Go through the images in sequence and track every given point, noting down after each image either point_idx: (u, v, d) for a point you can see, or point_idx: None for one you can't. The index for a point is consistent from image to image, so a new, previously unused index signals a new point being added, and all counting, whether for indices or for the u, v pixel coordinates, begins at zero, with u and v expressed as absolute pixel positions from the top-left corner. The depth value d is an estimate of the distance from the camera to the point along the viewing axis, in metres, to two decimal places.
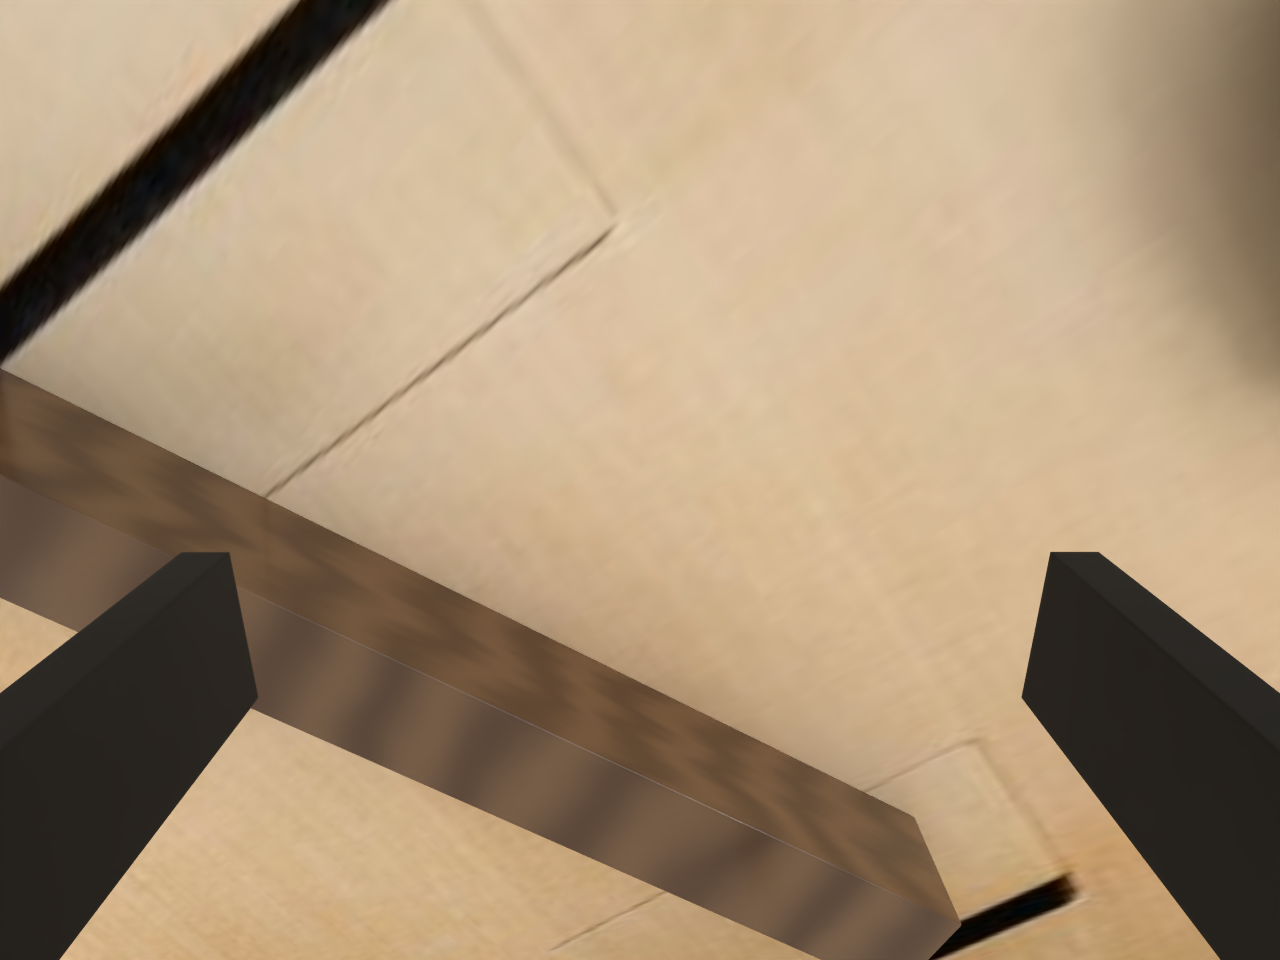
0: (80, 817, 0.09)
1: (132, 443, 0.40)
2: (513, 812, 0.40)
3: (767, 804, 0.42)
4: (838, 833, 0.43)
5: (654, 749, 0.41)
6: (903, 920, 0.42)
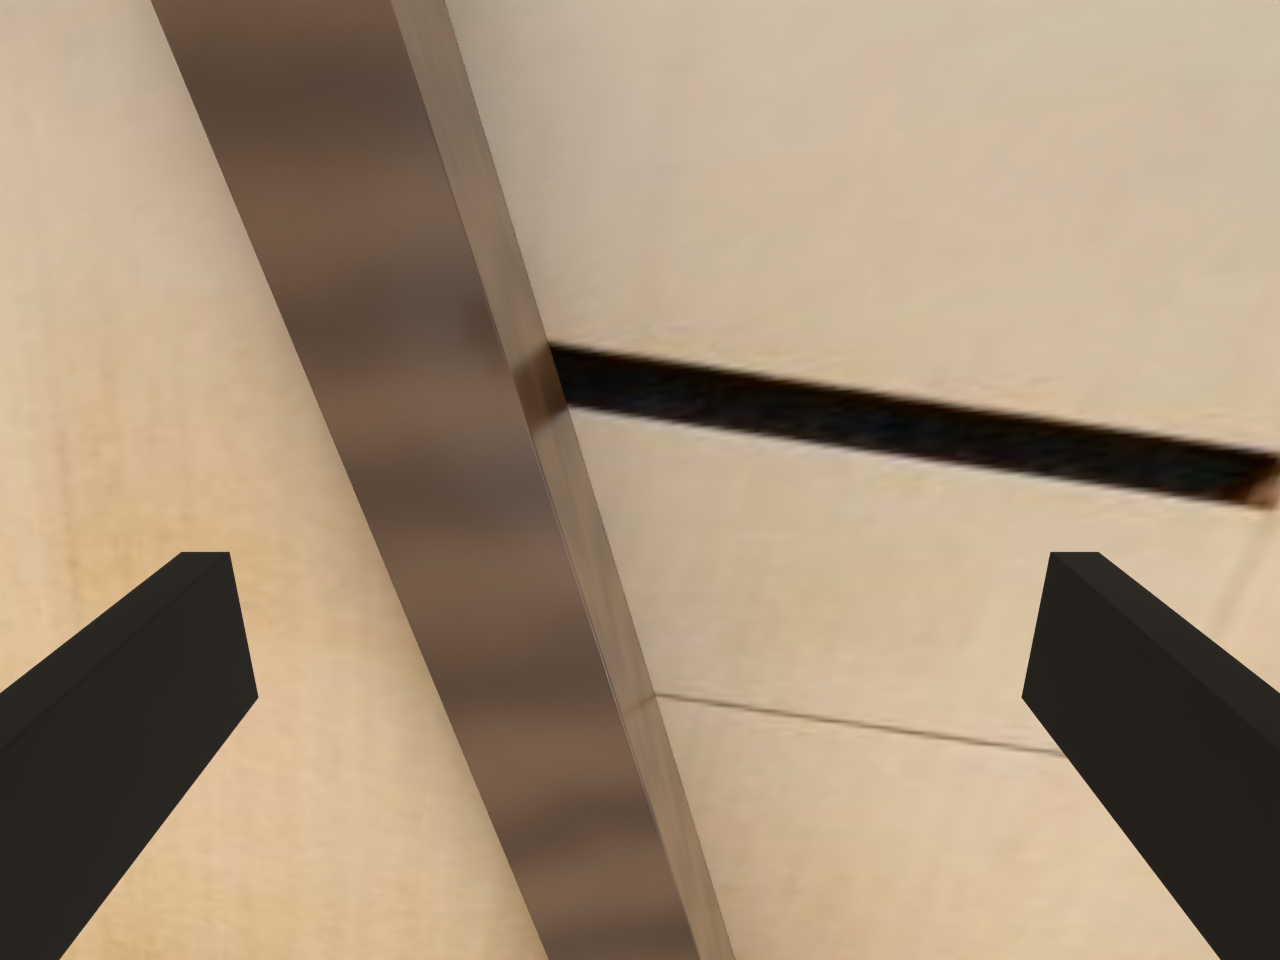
0: (80, 817, 0.09)
1: (616, 579, 0.33)
2: None
3: None
4: None
5: None
6: None
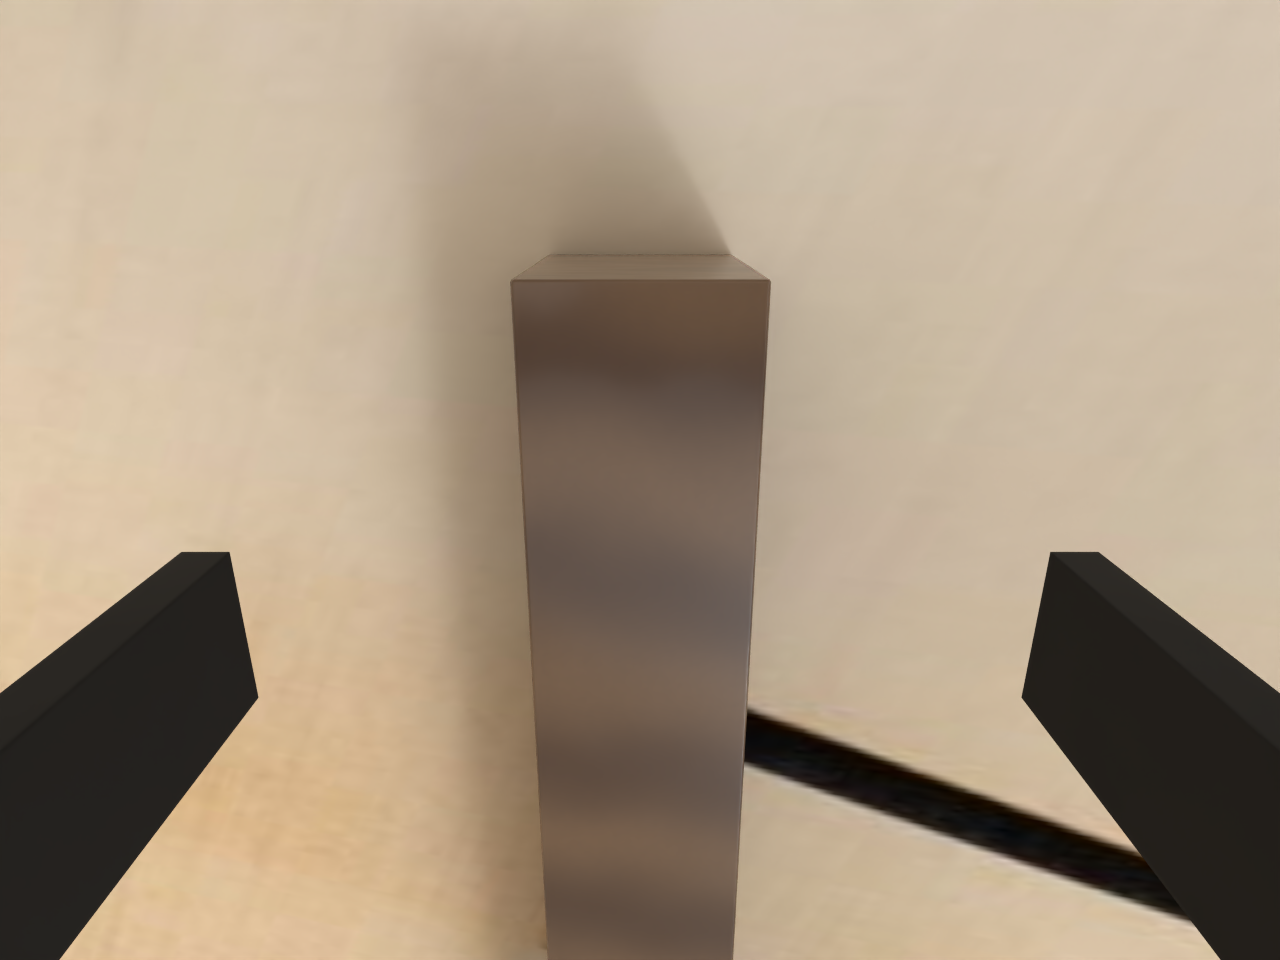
0: (79, 817, 0.09)
1: None
2: None
3: None
4: None
5: None
6: None
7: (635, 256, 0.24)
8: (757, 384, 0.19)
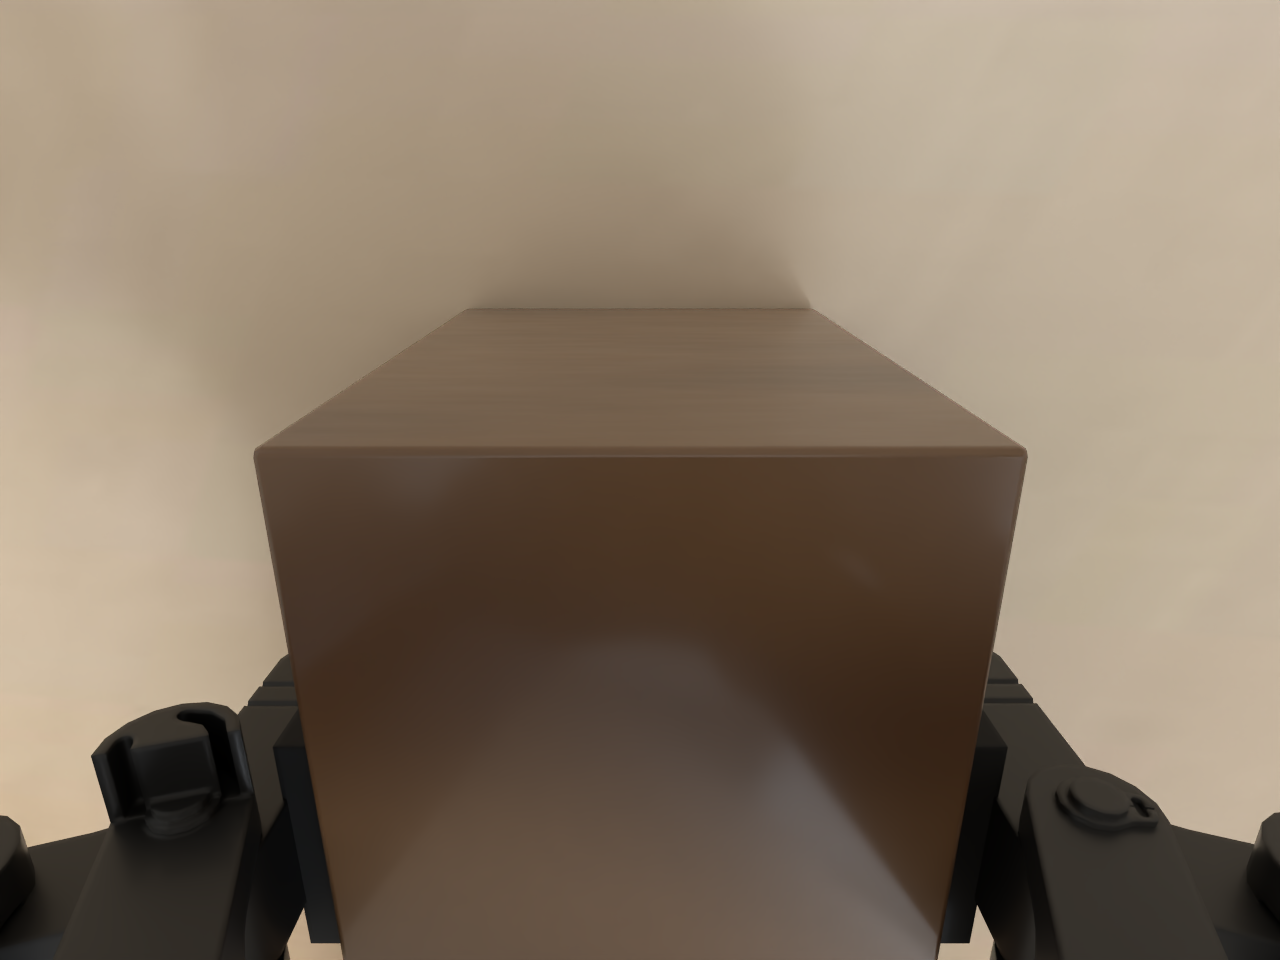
0: None
1: None
2: None
3: None
4: None
5: None
6: None
7: (630, 314, 0.13)
8: (961, 715, 0.07)
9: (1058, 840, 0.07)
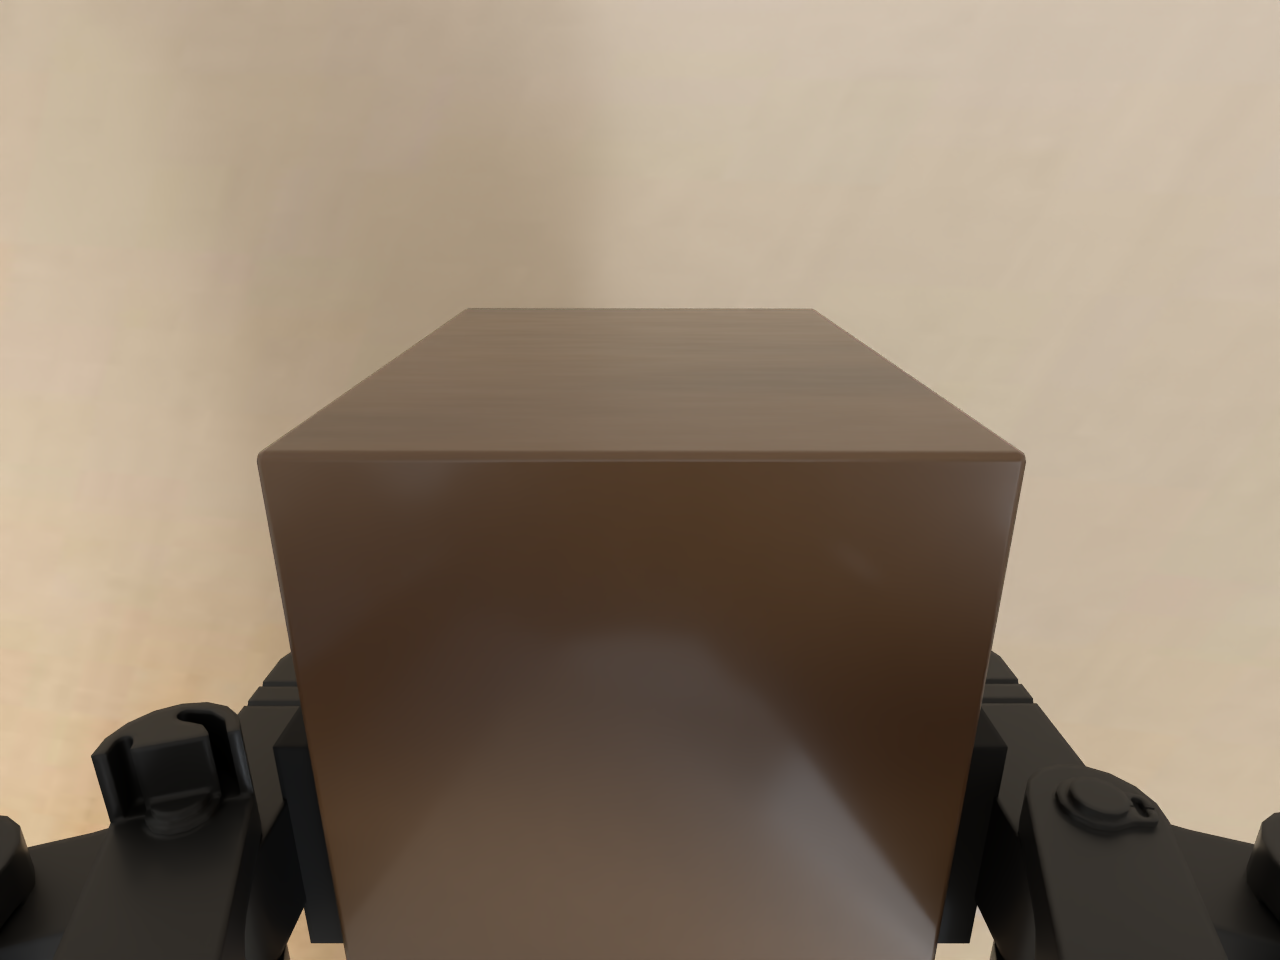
0: None
1: None
2: None
3: None
4: None
5: None
6: None
7: (630, 314, 0.13)
8: (959, 718, 0.07)
9: (1058, 839, 0.07)
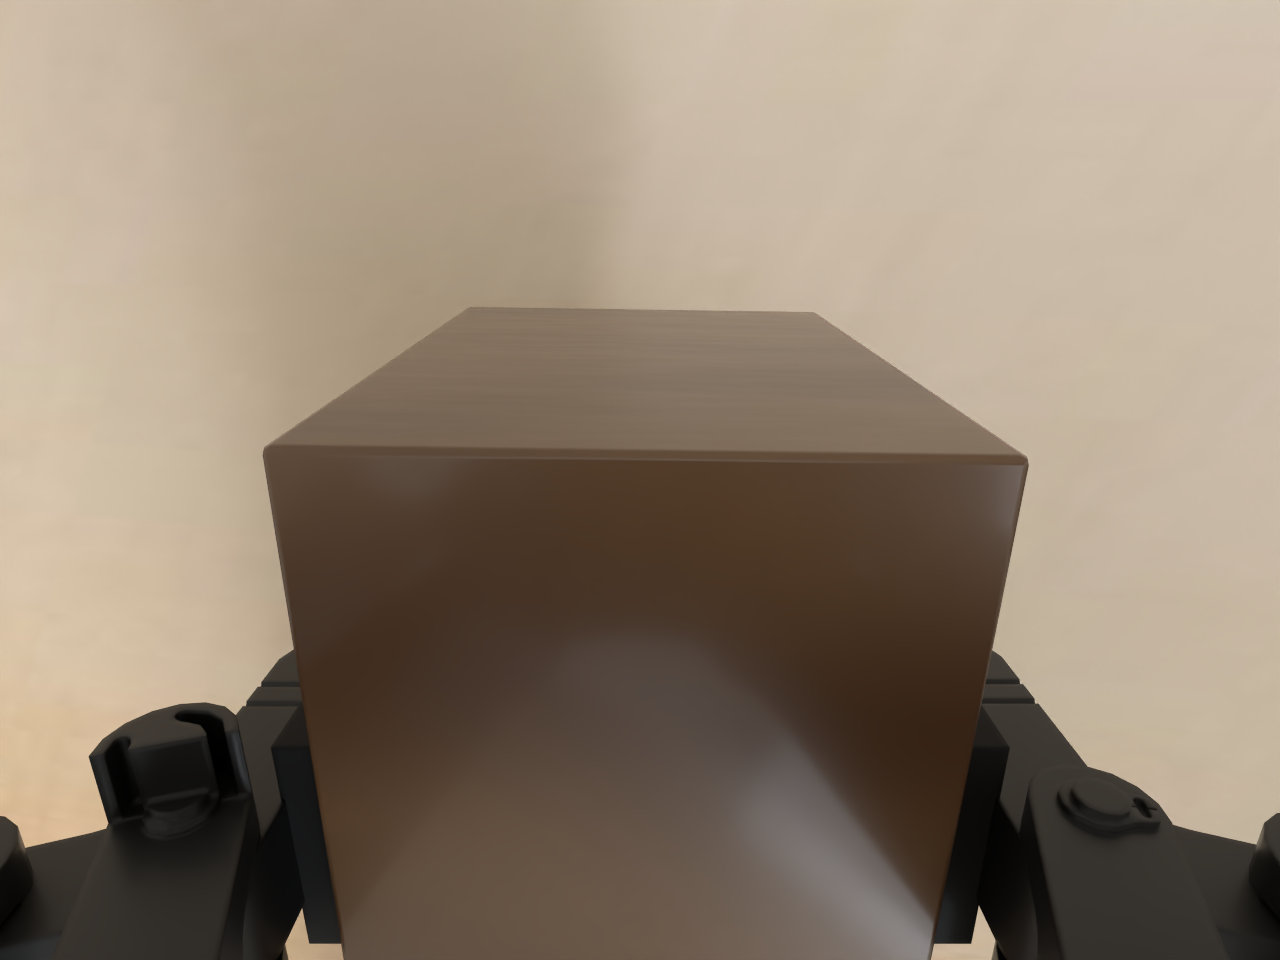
0: None
1: None
2: None
3: None
4: None
5: None
6: None
7: (632, 315, 0.13)
8: (958, 720, 0.07)
9: (1059, 839, 0.07)
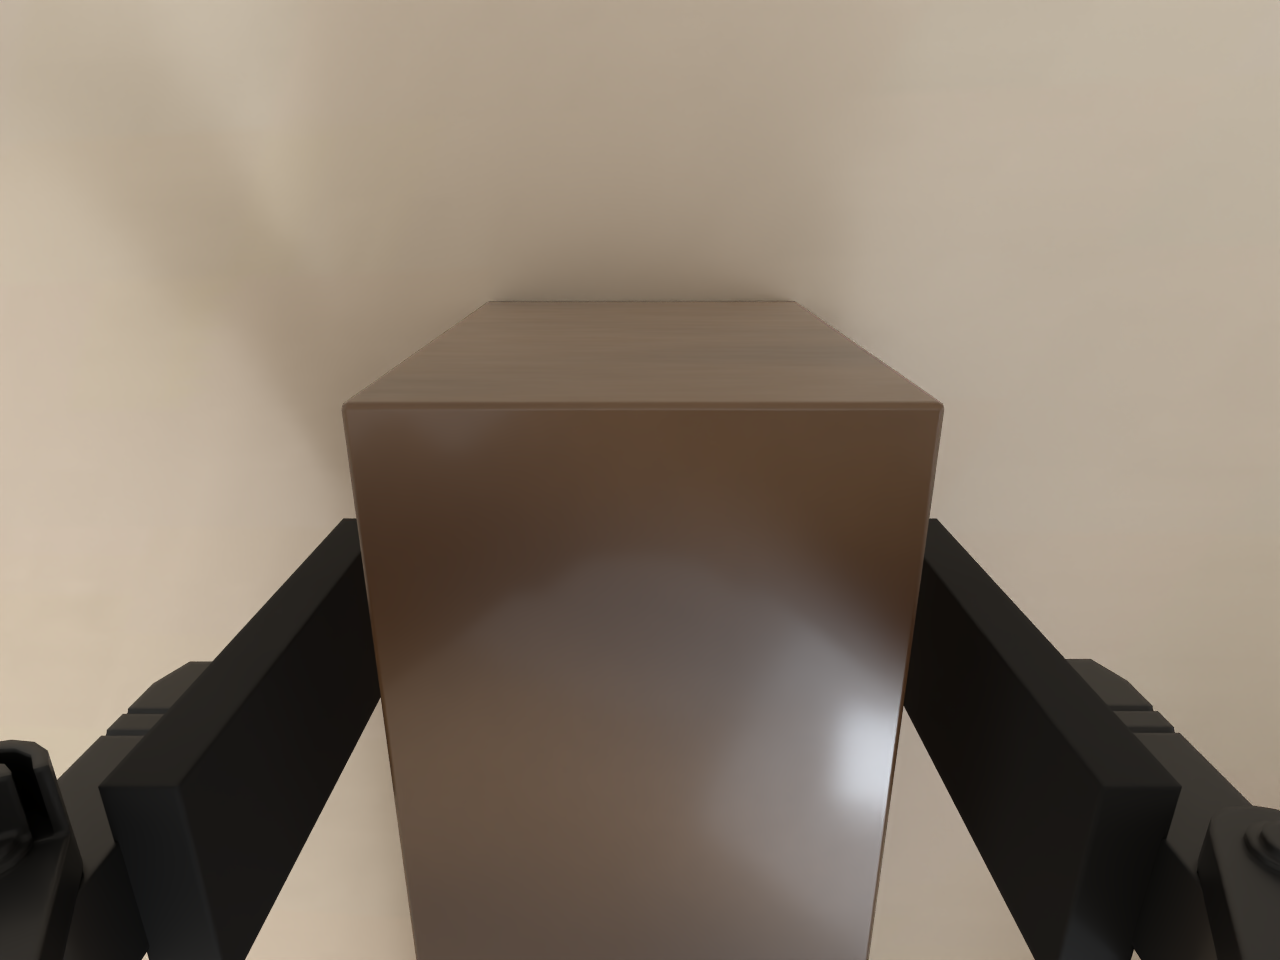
0: (306, 741, 0.10)
1: None
2: None
3: None
4: None
5: None
6: None
7: (633, 306, 0.14)
8: (899, 622, 0.08)
9: (1248, 882, 0.07)
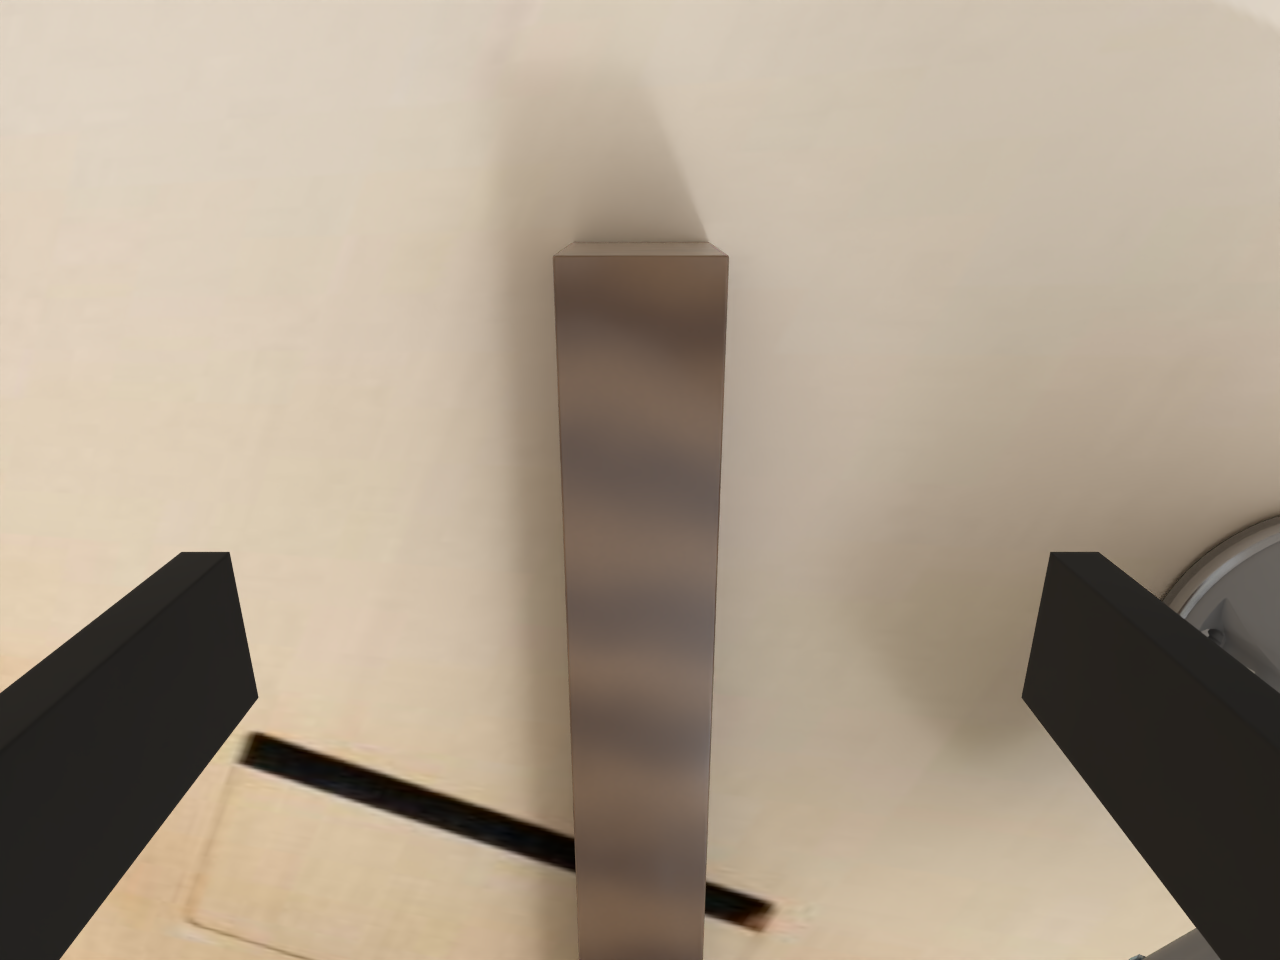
0: (80, 817, 0.09)
1: None
2: None
3: None
4: None
5: None
6: None
7: (637, 243, 0.33)
8: (720, 328, 0.27)
9: None
